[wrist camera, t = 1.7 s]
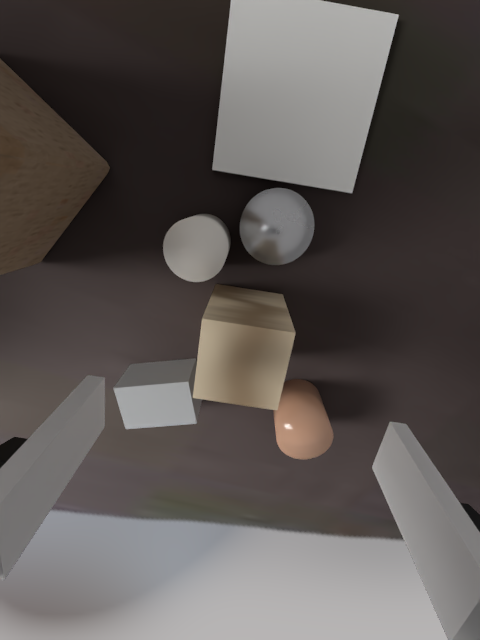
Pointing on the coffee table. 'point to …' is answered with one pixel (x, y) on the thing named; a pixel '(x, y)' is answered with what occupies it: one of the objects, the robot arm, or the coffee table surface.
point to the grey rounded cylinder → (197, 247)
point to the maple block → (244, 348)
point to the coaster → (300, 90)
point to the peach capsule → (302, 421)
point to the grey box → (158, 394)
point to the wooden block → (38, 174)
